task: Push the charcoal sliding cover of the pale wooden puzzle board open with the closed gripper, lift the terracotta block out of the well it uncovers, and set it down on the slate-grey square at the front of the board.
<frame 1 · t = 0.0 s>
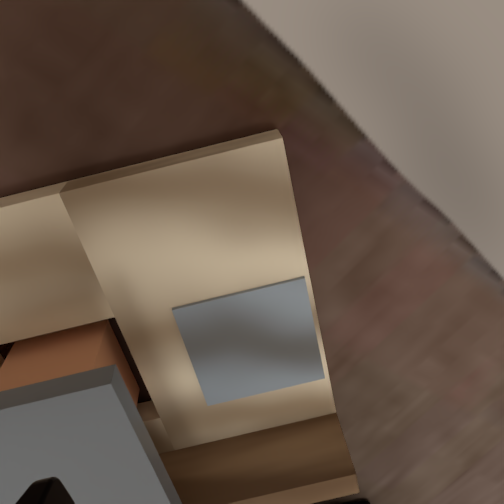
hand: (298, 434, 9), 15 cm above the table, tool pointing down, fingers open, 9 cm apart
puzzle board: (136, 337, 25), on the table
block: (80, 365, 26), resting in puzzle board
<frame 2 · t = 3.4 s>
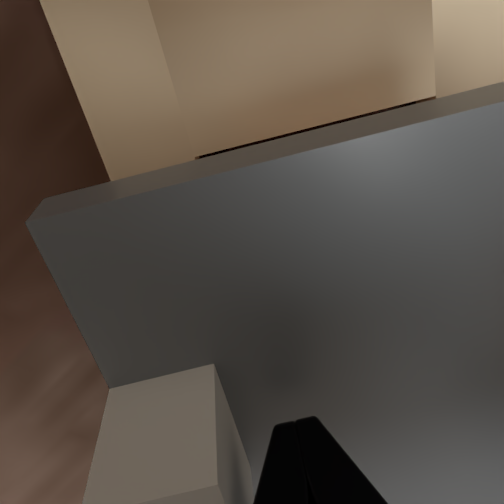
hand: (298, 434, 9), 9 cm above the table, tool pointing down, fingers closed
puzzle board: (419, 163, 16), on the table
sliding cover: (389, 434, 10), point 8 cm above the table, slide at 0.6 cm, touching gripper
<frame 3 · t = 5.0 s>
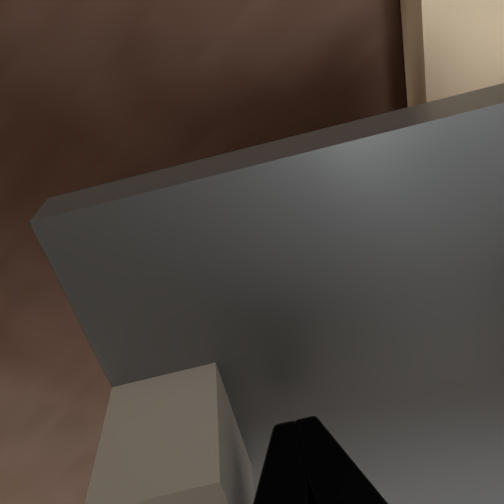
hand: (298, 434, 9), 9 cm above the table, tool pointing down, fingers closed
sliding cover: (389, 433, 10), point 8 cm above the table, slide at 9.8 cm, touching gripper
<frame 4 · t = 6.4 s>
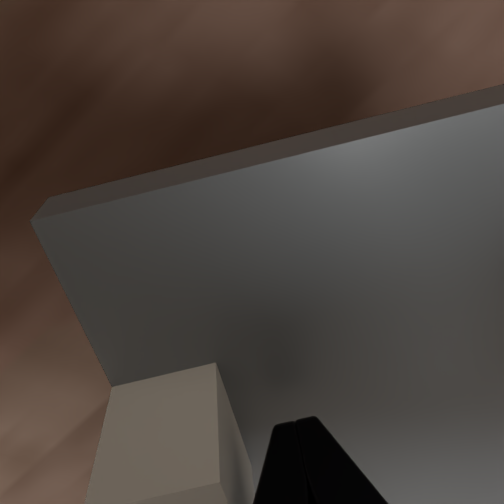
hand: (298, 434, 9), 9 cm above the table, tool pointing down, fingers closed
sliding cover: (389, 434, 10), point 8 cm above the table, slide at 15.0 cm, touching gripper
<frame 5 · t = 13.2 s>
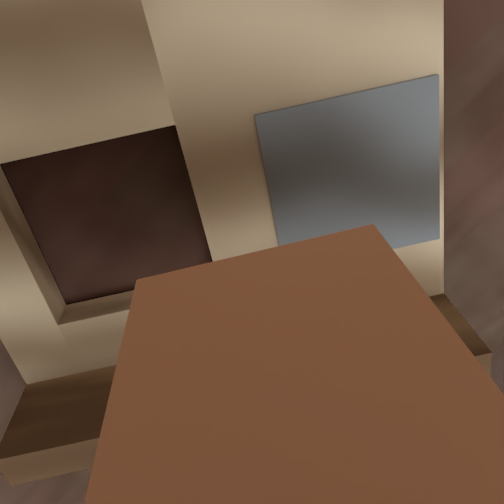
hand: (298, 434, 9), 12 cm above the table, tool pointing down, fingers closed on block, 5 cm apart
puzzle board: (193, 177, 19), on the table
block: (277, 344, 11), point 10 cm above the table, touching gripper
when the fingers open (6 cm above the table, at t = 15.5 s): block drops 1 cm, resting on puzzle board.
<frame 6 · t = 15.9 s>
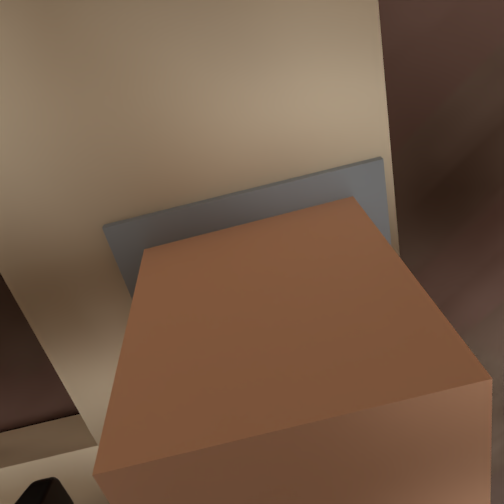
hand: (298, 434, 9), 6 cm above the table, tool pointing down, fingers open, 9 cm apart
puzzle board: (48, 296, 13), on the table
block: (270, 308, 12), point 2 cm above the table, touching puzzle board
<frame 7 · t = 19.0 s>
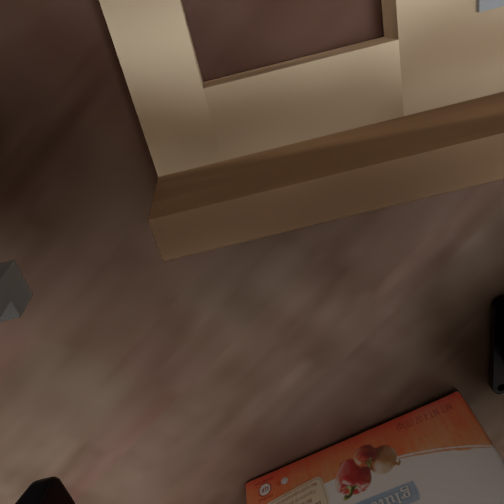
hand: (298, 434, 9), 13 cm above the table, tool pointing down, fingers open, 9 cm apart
cracker box: (360, 458, 29), on the table
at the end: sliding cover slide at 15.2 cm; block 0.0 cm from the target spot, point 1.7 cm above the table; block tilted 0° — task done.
